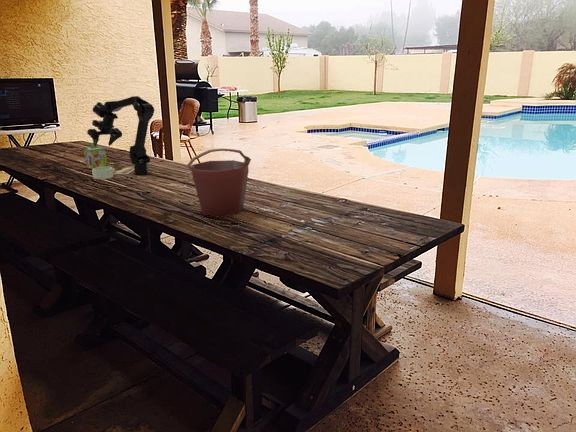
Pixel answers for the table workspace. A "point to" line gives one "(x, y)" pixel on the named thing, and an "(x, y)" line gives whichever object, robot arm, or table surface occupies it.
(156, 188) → the table surface
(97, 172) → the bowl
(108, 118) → the robot arm
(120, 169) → the beige square tray
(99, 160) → the chalk box
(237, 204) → the bucket
